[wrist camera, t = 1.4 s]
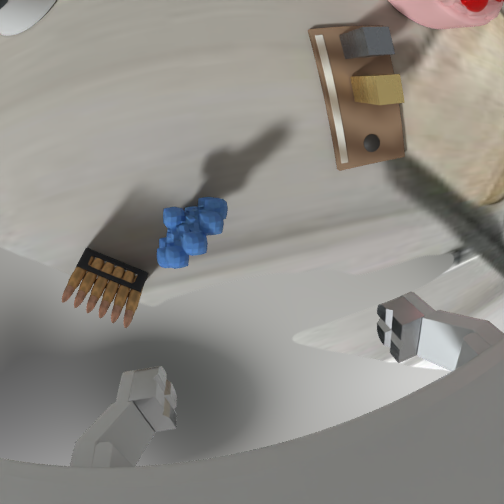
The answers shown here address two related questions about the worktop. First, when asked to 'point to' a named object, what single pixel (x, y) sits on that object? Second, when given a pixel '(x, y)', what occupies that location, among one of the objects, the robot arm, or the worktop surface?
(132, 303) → the ammunition clip
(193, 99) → the worktop surface
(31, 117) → the worktop surface
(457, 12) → the cake
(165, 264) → the grapes
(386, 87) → the wooden block
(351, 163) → the brown flat rectangular board
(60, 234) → the worktop surface
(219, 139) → the worktop surface
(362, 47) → the grey rectangular block
